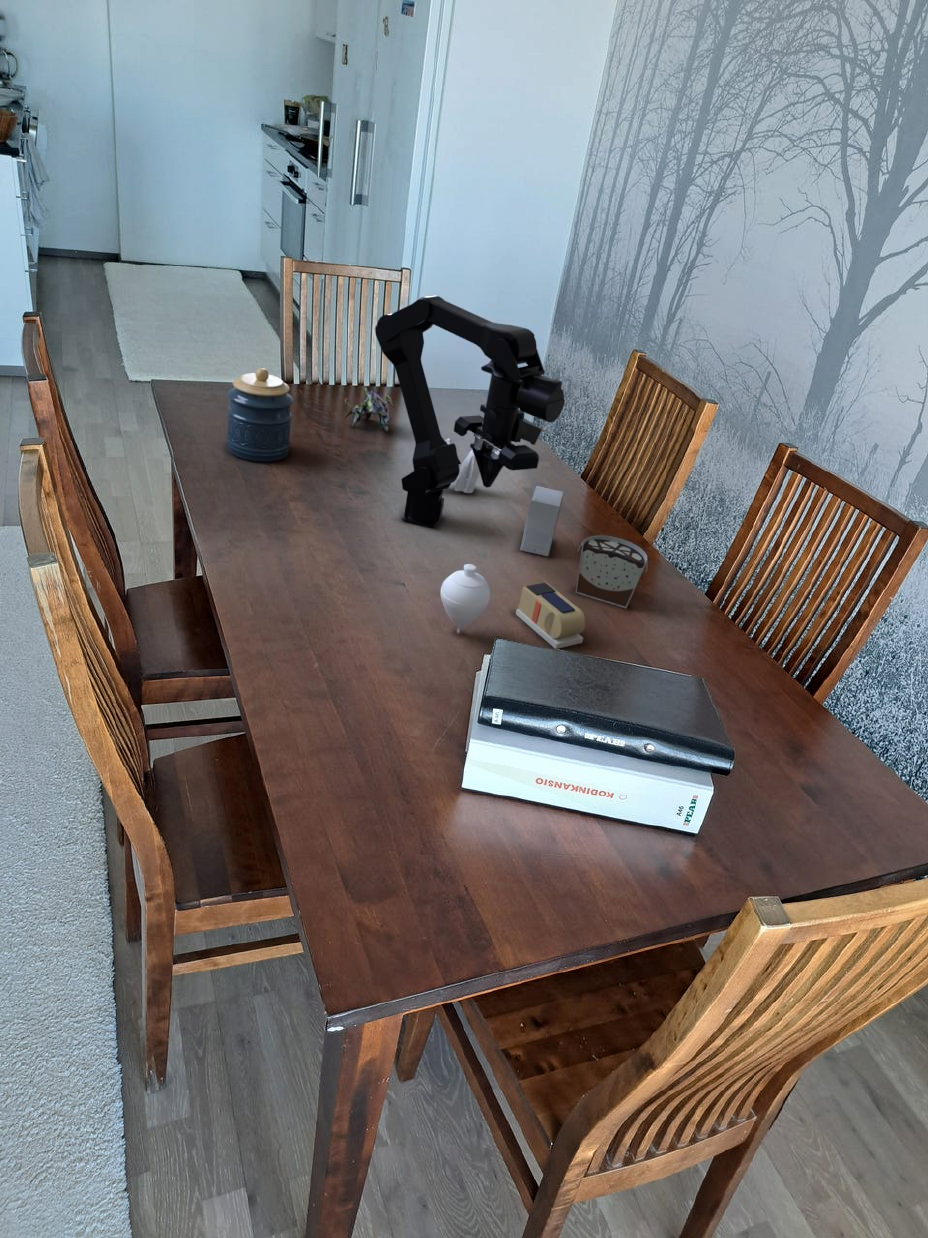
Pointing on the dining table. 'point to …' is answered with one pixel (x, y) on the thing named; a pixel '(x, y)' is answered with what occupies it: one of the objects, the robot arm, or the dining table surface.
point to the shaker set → (467, 473)
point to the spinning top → (465, 596)
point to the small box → (541, 521)
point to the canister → (259, 417)
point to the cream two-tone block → (551, 615)
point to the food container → (610, 569)
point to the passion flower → (372, 408)
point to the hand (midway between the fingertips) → (486, 486)
